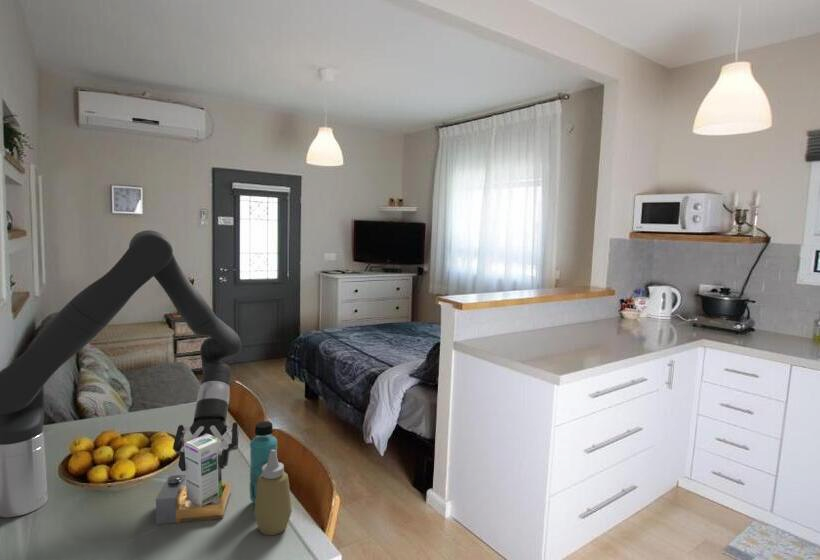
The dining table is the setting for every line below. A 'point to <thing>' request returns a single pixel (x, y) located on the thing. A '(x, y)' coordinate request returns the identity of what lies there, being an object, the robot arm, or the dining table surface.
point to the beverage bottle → (260, 453)
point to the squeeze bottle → (272, 497)
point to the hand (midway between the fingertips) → (202, 469)
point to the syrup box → (203, 469)
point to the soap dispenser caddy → (187, 503)
